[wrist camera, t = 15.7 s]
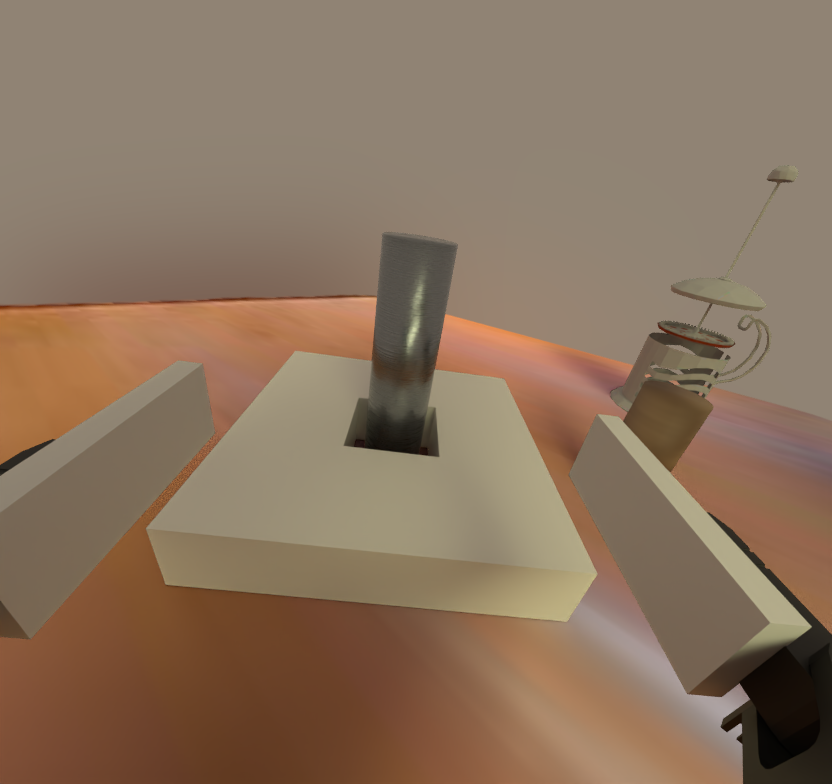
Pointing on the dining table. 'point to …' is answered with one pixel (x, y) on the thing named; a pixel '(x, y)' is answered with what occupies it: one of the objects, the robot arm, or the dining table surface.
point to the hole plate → (377, 503)
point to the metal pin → (406, 338)
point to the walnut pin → (666, 419)
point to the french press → (699, 331)
